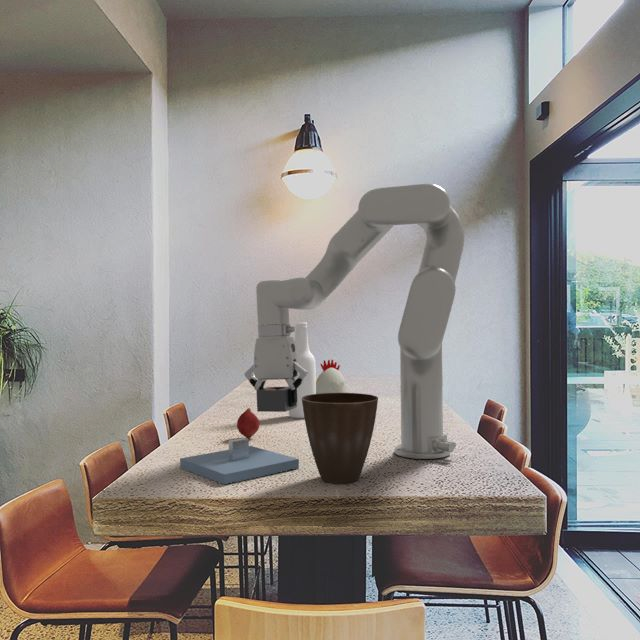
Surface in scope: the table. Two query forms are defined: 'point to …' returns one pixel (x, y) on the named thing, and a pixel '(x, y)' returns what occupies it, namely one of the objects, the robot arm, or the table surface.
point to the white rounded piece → (331, 380)
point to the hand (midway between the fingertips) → (277, 405)
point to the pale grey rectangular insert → (238, 449)
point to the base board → (238, 465)
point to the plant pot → (340, 432)
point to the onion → (248, 424)
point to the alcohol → (308, 364)
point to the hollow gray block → (273, 399)
